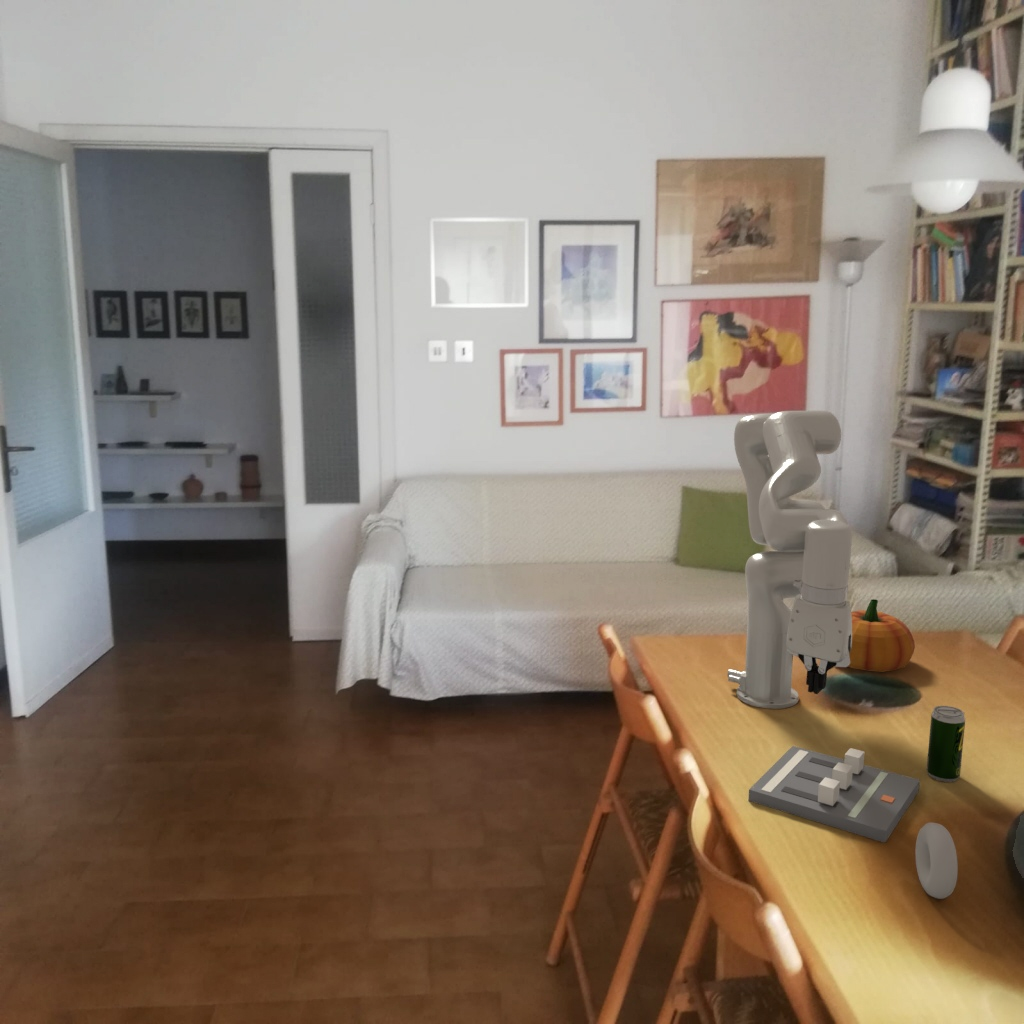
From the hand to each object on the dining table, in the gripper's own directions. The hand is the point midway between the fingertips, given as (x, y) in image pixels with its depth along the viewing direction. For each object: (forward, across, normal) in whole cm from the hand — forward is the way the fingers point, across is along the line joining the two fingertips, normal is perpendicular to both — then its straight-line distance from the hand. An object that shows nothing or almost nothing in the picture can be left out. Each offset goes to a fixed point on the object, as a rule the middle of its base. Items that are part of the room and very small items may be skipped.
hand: (815, 690), depth 166 cm
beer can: (+14, +20, +9) cm, 27 cm away
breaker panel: (+14, +8, -9) cm, 18 cm away
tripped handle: (+11, +9, -9) cm, 17 cm away
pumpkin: (+18, -7, +57) cm, 60 cm away
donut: (+12, +28, -28) cm, 41 cm away
